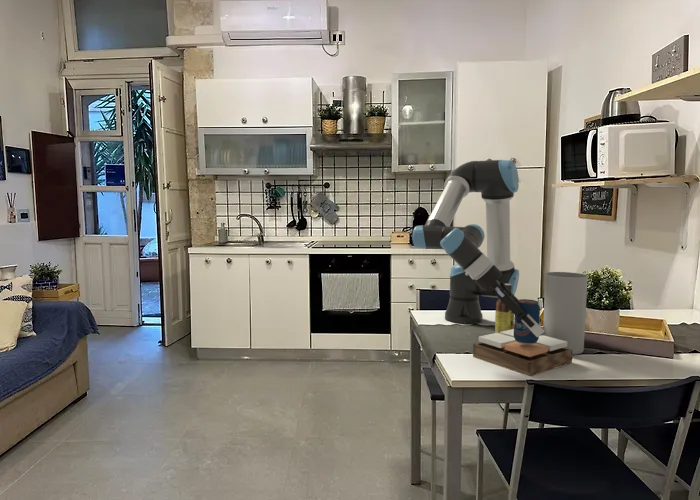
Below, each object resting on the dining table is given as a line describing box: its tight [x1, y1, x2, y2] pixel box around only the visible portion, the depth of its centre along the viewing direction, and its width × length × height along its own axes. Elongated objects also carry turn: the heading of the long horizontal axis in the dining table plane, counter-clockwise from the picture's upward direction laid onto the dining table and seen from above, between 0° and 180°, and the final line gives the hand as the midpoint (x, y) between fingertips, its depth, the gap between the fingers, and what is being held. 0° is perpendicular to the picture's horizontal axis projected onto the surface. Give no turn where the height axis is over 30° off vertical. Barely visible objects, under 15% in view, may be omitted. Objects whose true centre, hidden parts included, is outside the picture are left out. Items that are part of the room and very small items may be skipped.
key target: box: [505, 342, 548, 357], centre depth 145 cm, size 8×8×2 cm
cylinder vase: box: [542, 271, 589, 356], centre depth 162 cm, size 12×12×25 cm
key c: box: [536, 334, 567, 351], centre depth 151 cm, size 8×8×2 cm
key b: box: [478, 332, 516, 348], centre depth 154 cm, size 8×8×2 cm
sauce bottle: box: [494, 284, 515, 334], centre depth 173 cm, size 7×6×20 cm
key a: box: [500, 329, 514, 337], centre depth 159 cm, size 8×8×2 cm
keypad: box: [472, 342, 573, 377], centre depth 153 cm, size 21×21×4 cm
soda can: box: [514, 298, 541, 344], centre depth 145 cm, size 7×7×12 cm
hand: (539, 330), depth 144 cm, fingers closed on soda can, 7 cm apart
